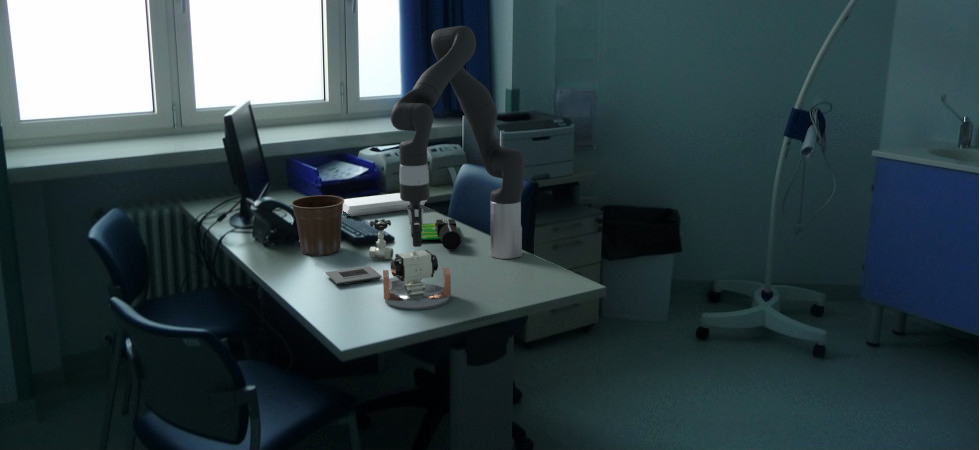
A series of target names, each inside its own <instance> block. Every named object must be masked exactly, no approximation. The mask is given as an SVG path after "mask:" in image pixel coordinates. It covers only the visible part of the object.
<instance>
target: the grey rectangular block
mask: <svg viewBox="0 0 980 450" xmlns="http://www.w3.org/2000/svg"><path fill="white" fill-rule="evenodd" d="M405 284H406V281H401V280H399V279H398V278H397V277H394V276H393V277H389V290H390V289H392V288H394V287H397V286H401V285H405Z"/></svg>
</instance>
